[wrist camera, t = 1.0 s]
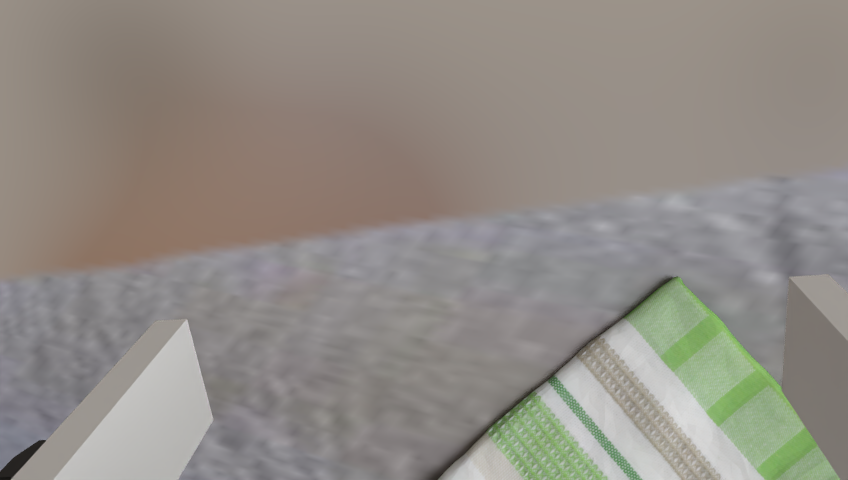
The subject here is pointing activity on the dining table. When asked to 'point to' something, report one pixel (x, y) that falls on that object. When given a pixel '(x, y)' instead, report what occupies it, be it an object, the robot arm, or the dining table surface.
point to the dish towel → (652, 409)
